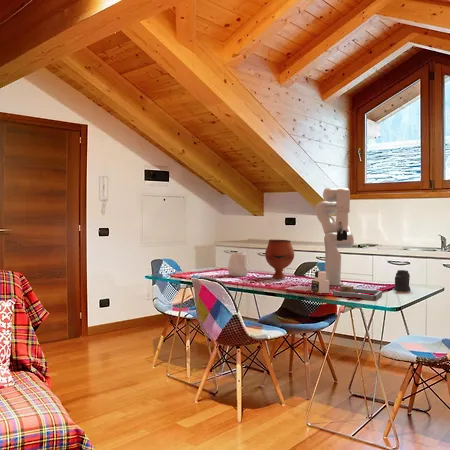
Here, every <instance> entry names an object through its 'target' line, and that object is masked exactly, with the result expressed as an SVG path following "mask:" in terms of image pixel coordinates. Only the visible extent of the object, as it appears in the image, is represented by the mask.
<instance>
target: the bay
mask: <svg viewBox="0 0 450 450" xmlns="http://www.w3.org/2000/svg"><path fill="white" fill-rule="evenodd" d="M353 292H355V293H348V292H340V291H336V290H334V291H333V292H332V296H333V295H334V296H333V297H336V296H342V297H341V298H346V297H357V298H362V299H361V300H365V299H367V301H377V300H378V299H380V298H381V297H382V296H383V291H382V290H377V289H376V290H374V289H364V288H355V287H353ZM358 293H369V294H374V295H368V294H358Z"/></svg>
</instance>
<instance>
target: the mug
mask: <svg viewBox="0 0 450 450" xmlns="http://www.w3.org/2000/svg"><path fill="white" fill-rule="evenodd" d="M410 278H411V275H410V273H409V271H408V270H405V269H403V270H402V269H398V270H397V271H396V273H395V277H394V288H393V290H394V291H396V292H404V293H405V292H408V293H409V292H411V287H410V286H411V285H410V280H411V279H410Z"/></svg>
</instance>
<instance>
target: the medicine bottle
mask: <svg viewBox="0 0 450 450" xmlns="http://www.w3.org/2000/svg"><path fill="white" fill-rule="evenodd" d="M310 291H311V293H313V292H315V293H314V294H316V293H329V294H330V285H329V280H326V272H325V270H316V271H315V272H314V279H311V289H310Z"/></svg>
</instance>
